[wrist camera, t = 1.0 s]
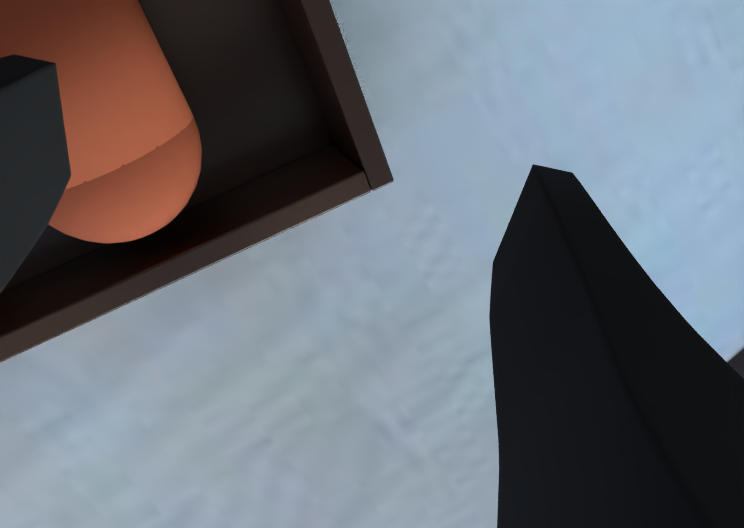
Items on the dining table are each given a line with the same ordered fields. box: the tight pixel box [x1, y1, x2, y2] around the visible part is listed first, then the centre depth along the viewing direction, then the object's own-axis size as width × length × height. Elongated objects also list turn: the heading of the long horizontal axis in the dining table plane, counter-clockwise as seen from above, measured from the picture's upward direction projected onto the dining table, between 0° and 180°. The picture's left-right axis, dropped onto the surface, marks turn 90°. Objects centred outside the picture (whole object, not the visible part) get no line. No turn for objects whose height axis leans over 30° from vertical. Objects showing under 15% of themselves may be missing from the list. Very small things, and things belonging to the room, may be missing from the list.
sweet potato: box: [0, 0, 202, 243], centre depth 17 cm, size 9×5×5 cm, turn 20°
